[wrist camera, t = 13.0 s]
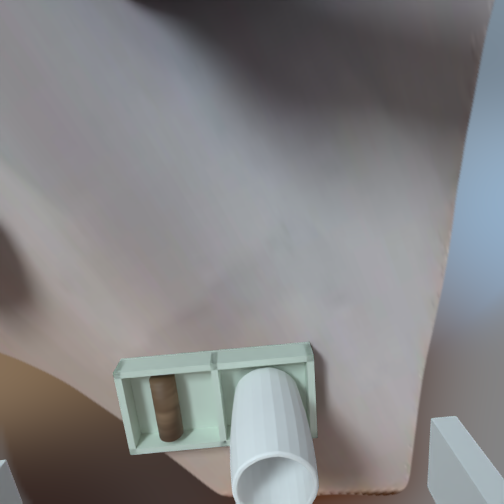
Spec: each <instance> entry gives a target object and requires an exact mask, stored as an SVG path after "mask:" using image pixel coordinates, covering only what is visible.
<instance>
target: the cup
mask: <svg viewBox="0 0 504 504" xmlns="http://www.w3.org/2000/svg"><path fill="white" fill-rule="evenodd" d="M230 468H231V483H232V492H233V497H234V499H235V501H236V504H312V503H313V501H314V499H315V498H316V495H317V492H318V488H319V484H318V473H317V465H316V457H315V451H314V446H313V440H312V436H311V432H310V428H309V424H308V420H307V417H306V413H305V409H304V406H303V403H302V400H301V397H300V394H299V391H298V388H297V385H296V382H295V381H294V380H293V379H292V377H291V376H289V375H288V374H287V373H285V372H284V371H281V370H279V369H276V368H270V367H266V368H259V369H256V370H253V371H251V372H249V373H248V374H246V375H245V376H244V377H243V378H242V379H240V380H239V382H238V384H237V387H236V390H235V395H234V402H233V410H232V420H231V435H230Z"/></svg>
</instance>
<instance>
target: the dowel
mask: <svg viewBox="0 0 504 504" xmlns="http://www.w3.org/2000/svg"><path fill="white" fill-rule="evenodd" d="M149 383H150V389H151V394H152V399H153V405H154V410H155V416H156V421H157V426H158V432H159V437H160V439H161V440H162V441H164V442H173V441H175V440H177V439H179V438H180V437H181V436H182V435H183V432H184V429H183V423H182V416H181V410H180V404H179V398H178V392H177V386H176V380H175V374H167V375H156V376H151V377H150V378H149Z"/></svg>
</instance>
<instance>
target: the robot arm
mask: <svg viewBox="0 0 504 504" xmlns="http://www.w3.org/2000/svg"><path fill="white" fill-rule="evenodd" d="M427 487H428V489H429V491H430V493H431V495H432V497H433V499H434V501H435V503H436V504H504V478H503V477H502V476H501V474H500V473H499V472H498V471H497V469H496V468H495V467H494V465H493V464H492V463H491V461H490V460H489V459H488V457H487V456H486V455H485V453H484V452H483V451H482V450H481V448H480V447H479V446H478V445H477V443H476V442H475V440H474V439H473V438H472V436H471V435H470V434H469V432H468V431H467V430H466V428H464V426H463V425H462V423H461V422H460V421H459V419H458V418H457V417H456V416H450V417H441V418H431V427H430V448H429V466H428V484H427ZM0 504H23V503H22V500H21V498H20V495H19V492H18V490H17V487H16V485H15V482H14V479H13V477H12V474H11V471H10V469H9V466H8V463H7V461H6V460H0Z"/></svg>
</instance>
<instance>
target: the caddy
mask: <svg viewBox="0 0 504 504" xmlns="http://www.w3.org/2000/svg"><path fill="white" fill-rule="evenodd" d="M266 367H270V368H276V369H279V370H281V371H284V372H285V373H287V374H288V375H289V376H291V377H292V379H293V380H294V381H295V382H296V385H297V388H298V391H299V394H300V397H301V400H302V403H303V406H304V409H305V413H306V417H307V420H308V424H309V428H310V432H311V436H312V438H318V437H317V415H316V393H315V372H314V354H313V351H312V349H311V346H310V343H309V342H302V343H291V344H280V345H269V346H258V347H247V348H236V349H225V350H214V351H203V352H192V353H181V354H170V355H159V356H148V357H137V358H126V359H121V360H120V362H119V363H118V365H117V367H116V369H115V370H114V372H113V376H114V381H115V385H116V390H117V395H118V399H119V404H120V409H121V413H122V418H123V422H124V426H125V432H126V436H127V441H128V445H129V450H130V454H131V455H134V454H145V453H157V452H168V451H179V450H190V449H201V448H212V447H223V446H230V435H231V420H232V410H233V402H234V395H235V390H236V387H237V384H238V382H239V380H240V379H242V378H243V377H244V376H245V375H246V374H248V373H249V372H251V371H253V370H256V369H259V368H266ZM167 374H175V380H176V386H177V392H178V398H179V404H180V410H181V416H182V423H183V429H184V432H183V435H182V436H181V437H180V438H179V439H177V440H175V441H173V442H164V441H162V440H161V439H160V437H159V432H158V426H157V421H156V416H155V410H154V405H153V399H152V394H151V389H150V383H149V378H150V377H151V376H156V375H167Z"/></svg>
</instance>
